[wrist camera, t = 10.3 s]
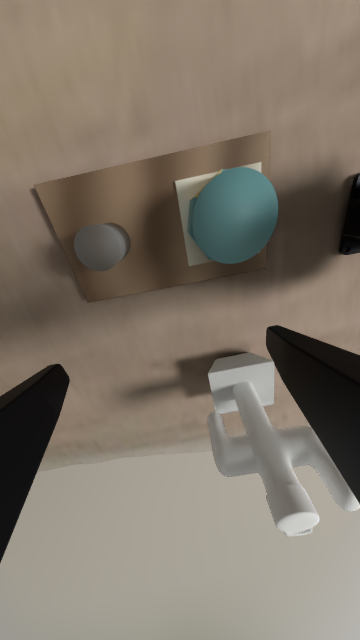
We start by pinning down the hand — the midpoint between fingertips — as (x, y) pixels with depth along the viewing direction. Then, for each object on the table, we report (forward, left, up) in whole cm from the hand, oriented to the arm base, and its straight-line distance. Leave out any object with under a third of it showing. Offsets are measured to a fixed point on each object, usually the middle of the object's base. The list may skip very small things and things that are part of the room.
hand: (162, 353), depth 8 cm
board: (0, -4, -12) cm, 13 cm away
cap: (-5, -4, -12) cm, 13 cm away
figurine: (-6, +14, -13) cm, 20 cm away
